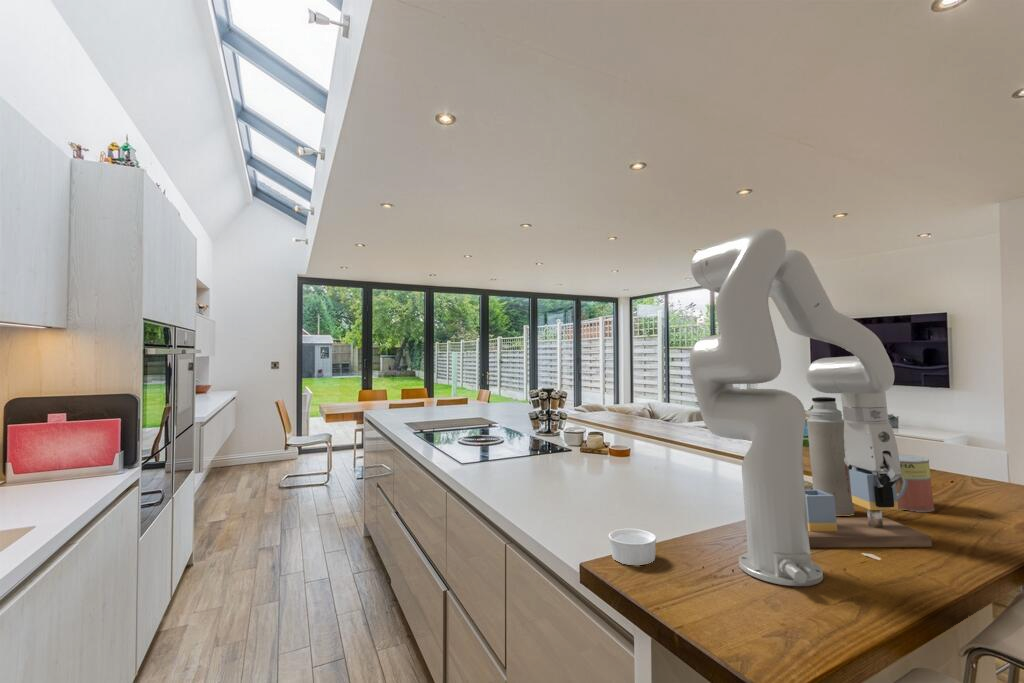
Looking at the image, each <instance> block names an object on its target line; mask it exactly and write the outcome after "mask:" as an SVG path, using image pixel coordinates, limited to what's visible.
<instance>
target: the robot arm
mask: <svg viewBox="0 0 1024 683" xmlns="http://www.w3.org/2000/svg"><path fill="white" fill-rule="evenodd" d="M691 259H692V260H691V262H690V271H691V275H692V277H693V279H694V280H695V281H696V282H697V284H698V285H699V286H700V287H702V288H704V289H706V290H708V291H710V292H714V293H716V294H717V297H716V301H715V309H714V310H715V311H714V312H715V316H716V321H717V327H718V332H719V334H713V335H708V336H704V337H702V338H700V339H698V340H697V341H696V342H695V343H694V344H693V346H692V348H691V349H690V354H689V360H688V361H689V362H688V363H689V364H688V366H689V371H690V375H691V376H690V377H691V379H692V384H693V388H694V392H695V396H696V400H697V404H698V408H699V411H700V414H701V418H702V421H703V423H704V425H705V427H706V428H707V430H708V431H709V432H710V433H711V434H713V435H715V436H717V437H719V438H726V439H730V440H731V439H733V440H742V441H748V442H751V445H750V446H749V449H748V450H747V451H746V453H745V455H744V458H743V460H742V463H741V476H742V489H743V490H742V491H743V503H744V504H743V505H744V516H745V517H744V518H745V530H746V532H745V533H746V543H747V552H744V553H742V554H741V555H740V556H739V557H738V565H739V568H741V570H742V571H743V572H745V573H746V574H748V575H749V576H750V577H754V578H755V579H758V580H762V581H763V582H767V583H771V584H775V585H776V584H777V585H781V586H788V587H809V586H814V585H817V584H819V583H821V582H822V581H823V579H824V573H823V569H822V568H821V566H819V565H818V564H817V563H815V562H813V561H812V559H811V547H810V545H809V533H808V522H807V510H806V498H805V490H806V488H805V478H804V464H803V463H804V462H803V447H804V446H803V444H804V435H805V428H806V427H805V426H806V421H807V420H806V410H805V407H804V404H803V403H802V401H801V400H800V399H799V397H797V396H796V395H794V394H793V393H791V392H789V391H785V390H783V389H777V388H736V389H735V388H734V385H749V384H751V385H753V384H764V383H768V382H772V381H774V380H775V379H777V378H778V377H779V376H780V374H781V370H782V358H781V353H780V348H779V345H778V344H779V343H778V341H777V336H776V332H775V328H774V325H773V324H774V323H773V320H772V315H771V311H770V307H769V306H770V305H769V298H771V299H772V301H773V303H774V305H775V306H776V308H777V311H778V312H779V314H780V315H781V317H782V319H783V321H784V323H785V324H786V327H787V328H788V329H789V331H791V333H794V334H796V335H798V336H803V337H805V338H806V337H807V338H809V339H813V340H817V341H821V342H825V343H829V344H832V345H835V346H837V347H841V348H842V349H845V350H846V351H848V352H850V353H851V354H853V355H849V356H836V357H823V358H819V359H816V360H814V361H812V363H810V364H809V366H808V367H807V369H806V372H805V373H806V376H805V377H806V380H807V383H808V385H809V386H810V387H811V388H813V389H814V390H815V391H816V392H819V393H822V394H823V393H824V394H840V396H841V406H842V418H843V420H844V451H845V458H844V462H845V463H846V465H847V466H848V469H849V470H853V469H856V470H858V469H864V470H867V471H871V472H872V473H873V475H874V480H875V483H876V486H877V487H874V492H875V501H876V506H877V507H894V497H893V488H892V487H894V486H895V485H894V483H895V482H896V481H897V479H898V478H899V477H900V476H901V472H900V460H899V454H900V453H899V449H898V445H897V444H898V443H897V439H896V435H895V432H894V429H893V426H892V425H891V423H889V413H888V404H887V396H886V395H887V394H886V392H887V391H889V389H891V388H892V386H893V385H894V381H895V370H894V366H893V363H892V361H891V359H890V356H889V355H888V353H887V350H886V348H885V347H884V345H883V343H882V341H881V339H880V338H879V337H878V336H877V335H876V333H874V332H873V331H872V330H871V329H869V328H867V327H866V326H865V325H863V324H862V323H861V322H859V321H858V320H855V319H853V318H851V317H850V316H848V315H846V314H843V313H841V312H839V311H837V309H835V308H834V306H833V304H832V302H831V300H830V298H829V296H828V294H827V292H826V290H825V288H824V286H823V285H822V283H821V280H820V278H819V277H818V275H817V272H816V271H815V269H814V267H813V265H812V263H811V261H810V260H809V258H808V257H807V255H806V254H805V253H804V252H802V251H801V250H798V249H787V242H786V239H785V236H784V235H783V233H782V232H781V231H780V230H777V229H776V228H760V229H756V230H752V231H750V232H745V233H742V234H739V235H736V236H734V237H731V238H728V239H724V240H721V241H719V242H716V243H713V244H710V245H707V246H705V247H702V248H701V249H699V250H698V251H697V252H696V253H695V254H694V256H693V257H692V258H691ZM881 469H883V470H884V471H880V470H881ZM883 474H885V476H884V477H883V478H882V479H881V477H880V475H883Z"/></svg>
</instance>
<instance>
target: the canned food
mask: <svg viewBox="0 0 1024 683" xmlns="http://www.w3.org/2000/svg"><path fill="white" fill-rule="evenodd" d="M898 454H899V460H900V472H901V476H900V477H899V478H898V479H897V481H896V482H895V483H896V493H897V502H898V508H899V509H904V510H910V511H916V512H915V513H928V512H934V511H935V510H936V509H935V504H934V498H933V489H932V487H933V486H932V478H931V477H932V476H931V469H930V459H929V458H927V457H923V456H919V455H918V456H917V455H910V454H900V453H898ZM881 471H884V470H883V469H881Z"/></svg>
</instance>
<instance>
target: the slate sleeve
mask: <svg viewBox="0 0 1024 683" xmlns="http://www.w3.org/2000/svg"><path fill="white" fill-rule="evenodd" d="M880 471H881V470H880ZM849 475H850V485H851V495H852V503H854V505H856V506H859V507H862V508H864V509H866V510H867V509H869V510H881V511H887V510H888V511H889V510H890V511H891V510H895V511H899V510H898V502H897V493H896V483H894V485H895V486H894V487H892V488H893V497H894V507H877V506H876V501H875V492H874V487H877V486H876V483H875V480H874V475H873V473H872V472H871V471H867V470H864V469H858V470H856V469H853V470H849ZM884 476H885V474H883V475H880V477H881V479H882V478H883V477H884Z"/></svg>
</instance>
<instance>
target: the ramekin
mask: <svg viewBox="0 0 1024 683" xmlns="http://www.w3.org/2000/svg"><path fill="white" fill-rule="evenodd" d="M608 540H609V544H610V551H611V557H612V559H613V560H614V561H615V560H616V561H618V562H620V563H622V564H621V565H623V564H627V565H643V564H648V563H651V562H652V563H654V562H655V559H656V542H657V536H656V535H655V534H654V533H652V532H649V531H647V530H643V529H638V528H621V529H616V530H612V531H611V532H609V533H608ZM616 561H615V562H616ZM653 561H654V562H653ZM618 562H617V563H618ZM620 563H619V564H620ZM652 563H651V564H652ZM627 565H626V566H627Z"/></svg>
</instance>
